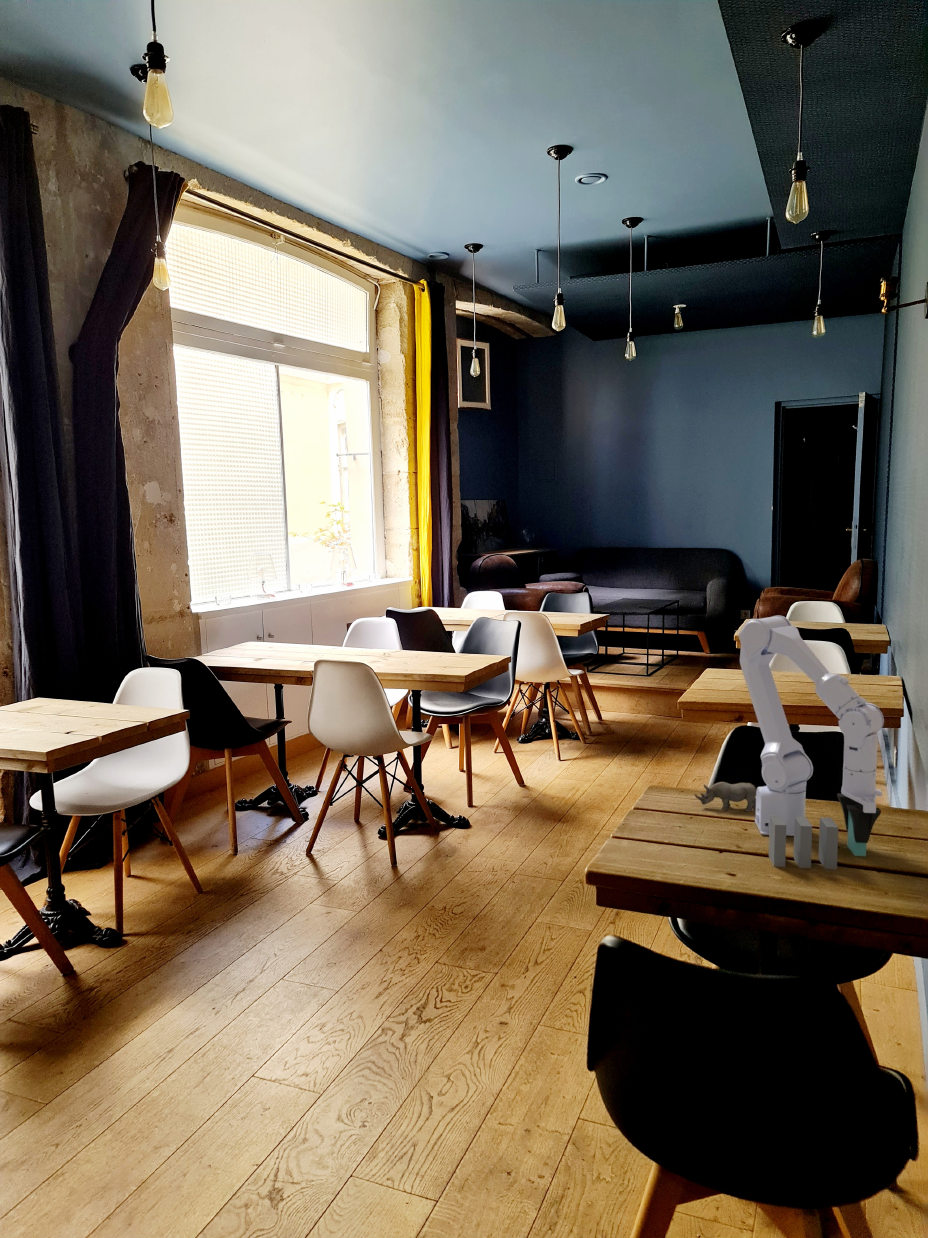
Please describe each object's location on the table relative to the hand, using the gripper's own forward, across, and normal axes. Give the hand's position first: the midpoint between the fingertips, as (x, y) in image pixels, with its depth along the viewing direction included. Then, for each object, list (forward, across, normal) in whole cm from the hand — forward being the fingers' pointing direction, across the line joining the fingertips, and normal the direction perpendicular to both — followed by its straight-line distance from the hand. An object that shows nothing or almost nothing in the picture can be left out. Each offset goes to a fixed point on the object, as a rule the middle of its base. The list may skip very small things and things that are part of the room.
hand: (857, 836), depth 164 cm
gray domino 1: (+3, -7, +16) cm, 18 cm away
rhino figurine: (+3, +22, +21) cm, 31 cm away
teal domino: (+3, 0, 0) cm, 3 cm away
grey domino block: (+3, -7, +7) cm, 10 cm away
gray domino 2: (+3, -7, +12) cm, 14 cm away
